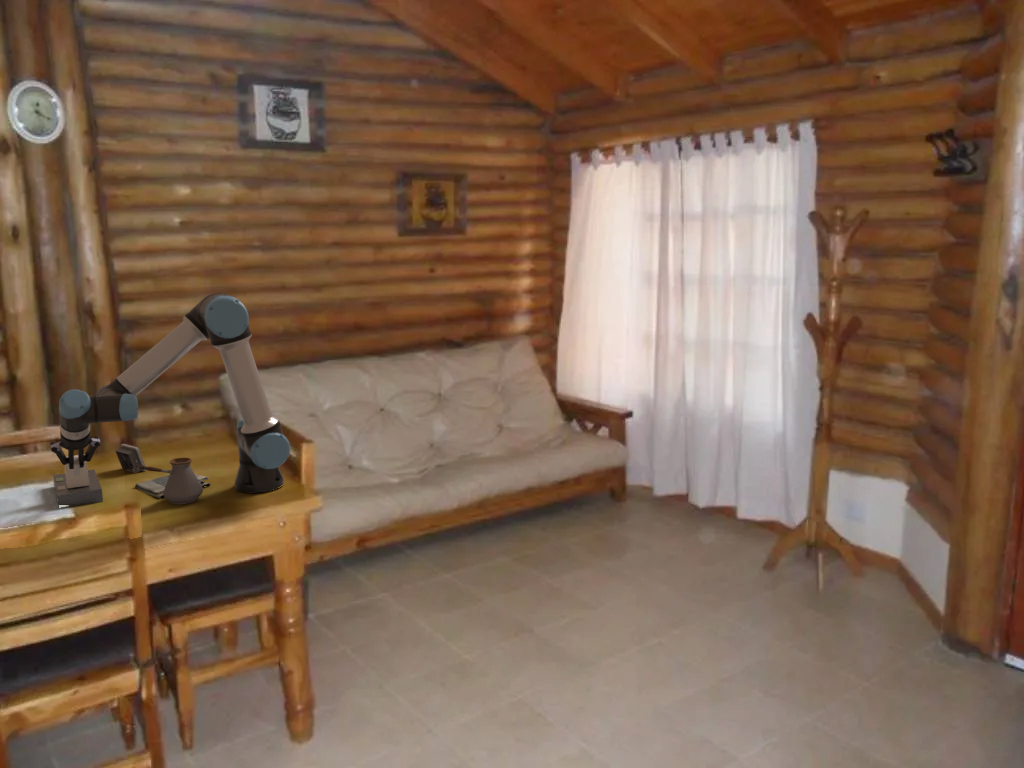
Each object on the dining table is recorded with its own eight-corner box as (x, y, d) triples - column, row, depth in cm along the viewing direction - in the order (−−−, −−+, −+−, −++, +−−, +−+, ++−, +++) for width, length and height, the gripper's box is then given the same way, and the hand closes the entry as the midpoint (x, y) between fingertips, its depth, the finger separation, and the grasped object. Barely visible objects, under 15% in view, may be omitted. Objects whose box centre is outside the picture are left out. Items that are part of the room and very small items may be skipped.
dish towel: (133, 488, 264) (132, 479, 263) (185, 476, 277) (185, 467, 276) (160, 501, 252) (159, 491, 251) (214, 487, 265) (213, 478, 265)
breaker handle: (89, 485, 252) (86, 457, 250) (67, 488, 249) (64, 460, 247) (88, 481, 255) (85, 454, 254) (66, 484, 252) (63, 457, 250)
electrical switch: (147, 471, 281) (142, 445, 279) (133, 476, 277) (128, 450, 275) (131, 466, 286) (126, 441, 284) (117, 471, 282) (112, 446, 280)
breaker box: (103, 501, 250) (101, 488, 249) (58, 508, 244) (57, 494, 243) (95, 480, 270) (94, 468, 269) (54, 486, 264) (52, 474, 263)
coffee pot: (187, 492, 259) (183, 446, 256) (211, 498, 253) (208, 451, 250) (126, 512, 241) (121, 463, 238) (151, 519, 235) (146, 469, 232)
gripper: (50, 444, 224) (53, 486, 241) (102, 438, 231) (102, 479, 248) (47, 421, 228) (50, 464, 245) (99, 416, 234) (98, 458, 251)
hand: (76, 472), depth 246 cm, fingers closed
